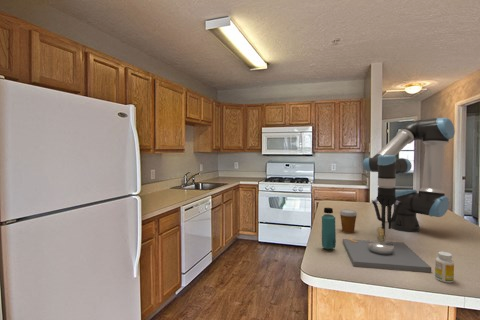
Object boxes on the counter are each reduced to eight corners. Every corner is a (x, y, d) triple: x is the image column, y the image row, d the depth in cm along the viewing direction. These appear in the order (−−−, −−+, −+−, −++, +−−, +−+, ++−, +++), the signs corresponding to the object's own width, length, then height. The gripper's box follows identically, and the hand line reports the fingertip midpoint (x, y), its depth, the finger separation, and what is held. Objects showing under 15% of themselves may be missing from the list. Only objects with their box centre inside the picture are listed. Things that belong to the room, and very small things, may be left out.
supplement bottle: (434, 279, 95) (434, 253, 95) (436, 274, 99) (436, 249, 99) (453, 284, 92) (453, 257, 91) (454, 279, 96) (454, 253, 95)
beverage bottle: (334, 253, 121) (334, 210, 120) (319, 250, 124) (319, 208, 124) (337, 248, 126) (337, 207, 126) (323, 246, 130) (323, 206, 129)
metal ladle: (393, 256, 111) (394, 240, 110) (367, 252, 116) (367, 236, 115) (392, 242, 127) (392, 228, 127) (369, 239, 132) (369, 225, 132)
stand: (403, 246, 128) (403, 241, 128) (431, 272, 101) (431, 266, 101) (342, 242, 134) (342, 238, 134) (353, 266, 107) (353, 260, 107)
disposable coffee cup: (358, 234, 147) (358, 213, 146) (340, 233, 149) (340, 212, 148) (354, 229, 156) (355, 209, 156) (338, 228, 158) (338, 208, 158)
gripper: (399, 186, 128) (399, 233, 129) (370, 185, 132) (370, 231, 132) (404, 188, 121) (403, 238, 122) (373, 187, 124) (373, 236, 125)
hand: (386, 235), depth 127 cm, fingers closed
